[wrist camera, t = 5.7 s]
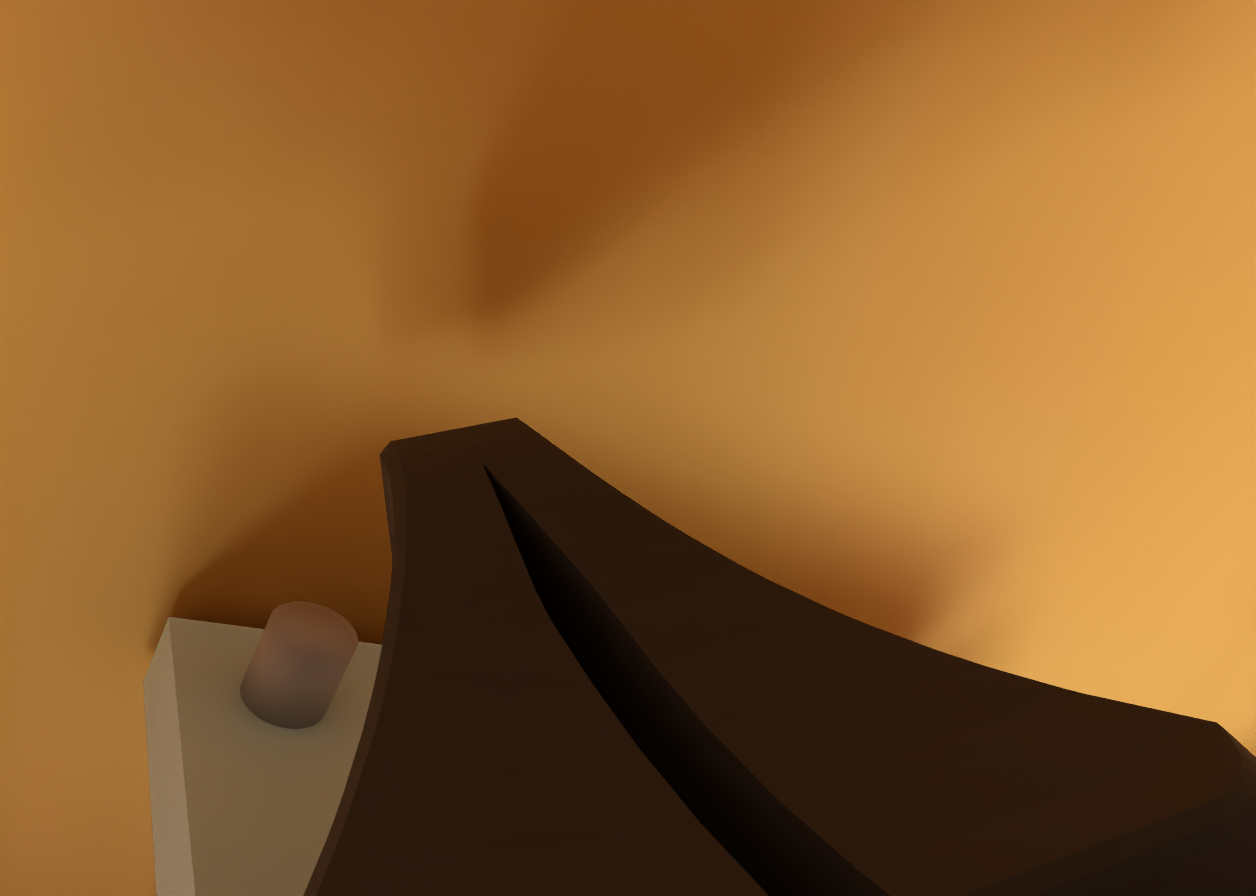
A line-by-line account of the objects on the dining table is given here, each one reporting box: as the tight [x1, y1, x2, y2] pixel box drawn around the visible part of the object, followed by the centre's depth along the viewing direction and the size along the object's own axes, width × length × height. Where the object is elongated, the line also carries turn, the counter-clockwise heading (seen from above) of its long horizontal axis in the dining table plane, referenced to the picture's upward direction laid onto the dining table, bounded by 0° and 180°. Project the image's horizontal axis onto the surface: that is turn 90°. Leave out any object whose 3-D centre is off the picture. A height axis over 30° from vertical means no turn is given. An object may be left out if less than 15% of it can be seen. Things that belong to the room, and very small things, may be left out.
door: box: [143, 601, 382, 896], centre depth 14 cm, size 12×2×5 cm, turn 61°
